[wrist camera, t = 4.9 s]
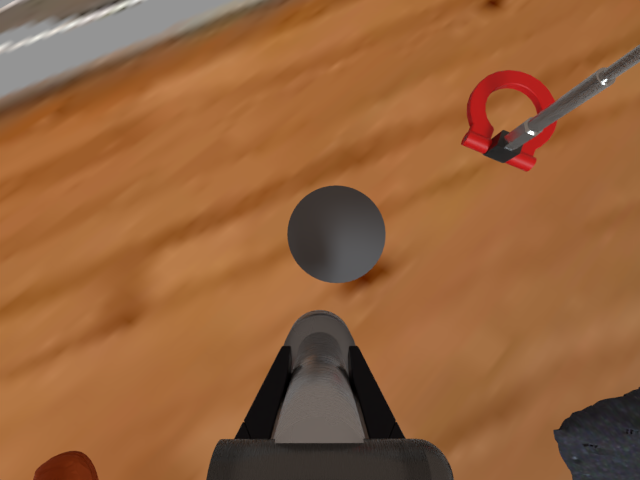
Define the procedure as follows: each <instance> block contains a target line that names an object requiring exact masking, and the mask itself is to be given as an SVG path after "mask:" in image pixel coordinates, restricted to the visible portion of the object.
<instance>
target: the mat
mask: <svg viewBox="0 0 640 480" xmlns="http://www.w3.org/2000/svg"><path fill="white" fill-rule="evenodd" d="M287 237H288V244H289V248H290V251H291V254H292V256H293V258H294V259H295V261H296V262H297V264H298V265H299V266H300V267H301V268H302V269H303V270H304V271H305V272H306V273H307V274H309V275H310V276H312V277H314V278H316V279H318V280H321V281H324V282H329V283H345V282H349V281H352V280H355V279H358V278H359V277H361V276H363V275H364V274H366V273H367V272H368V271H370V270H371V269H372V268H373V267H374V265H375V264H376V263H377V261H378V260H379V258H380V256H381V254H382V252H383V248H384V245H385V237H386V232H385V224H384V220H383V218H382V215H381V213H380V211H379V209H378V208H377V206H376V205H375V204H374V202H373V201H372V200H371V199H370V198H369V197H367V196H366V195H365V194H363V193H362V192H360V191H358V190H356V189H353V188H350V187H346V186H338V185H334V186H326V187H322V188H319V189H317V190H315V191H313V192H311V193H309V194H308V195H306V196H305V197H304V198H303V199H302V200H301V201H300V202H299V203H298V204H297V206H296V207H295V209H294V210H293V212H292V214H291V217H290V220H289V224H288V231H287Z"/></svg>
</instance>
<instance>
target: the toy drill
mask: <svg viewBox="0 0 640 480" xmlns="http://www.w3.org/2000/svg"><path fill="white" fill-rule="evenodd" d="M33 480H99V479H98V475H97V472H96V469H95V466H94V465H93V463H92V461H91V460H90V458H89V457H88V456H87V455H86V454H84V453H82V452H80V451H68V452H64V453H61V454H58V455H56V456H54V457H52V458H50V459H49V460H48V461H46V462H45V463H43V464H42V465H41V466H40V467H38V468H37V470H36V471H35V474H34V478H33Z"/></svg>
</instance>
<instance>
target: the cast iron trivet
mask: <svg viewBox="0 0 640 480" xmlns="http://www.w3.org/2000/svg"><path fill="white" fill-rule="evenodd" d="M553 433H554V438H555V440H556V442H557V443H558V448H559V453H560V455H561V457H562V459H563V461H564V462H565V464H566V465H567V467H568V469H569V470H570V472H571V474H572V480H640V387H639V388H638V389H636V390H632V391H630V392H629V393H626V394H624V395H623V396H620V397H615V398H608V399H603V400H600V401H598V402H596V403H595V404H594V405H590V406H588V407H586V408H584V409H583V410H581V411H576V412H573V413H572V414H571V415H570V417H569V418H566V419H565V420H564V421H563V422H562V424H561V426H560V428H559V429H556V430H553Z"/></svg>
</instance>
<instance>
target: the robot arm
mask: <svg viewBox="0 0 640 480" xmlns="http://www.w3.org/2000/svg"><path fill="white" fill-rule="evenodd" d="M291 373H292V350H291V346H282V347H281V348H280V350H279V352H278V354H277V356H276V358H275V360H274V362H273V364H272V366H271V368H270V370H269V372H268V374H267V376H266V378H265V380H264V382H263V384H262V386H261V388H260V389H259V391H258V393H257V395H256V397H255V399H254V401H253V403H252V405H251V407H250V409H249V411H248V413H247V415H246V417H245V419H244V422H243V423H242V424H241V426H240V428H239V430H238V432H237V434H236V436H235V438H234V439H273V438H274V435H275V431H276V427H277V424H278V420H279V417H280V413H281V409H282V406H283V402H284V399H285V395H286V392H287V388H288V384H289V381H290V377H291ZM348 376H349V381H350V384H351V388H352V392H353V395H354V399H355V403H356V407H357V410H358V414H359V418H360V421H361V425H362V429H363V432H364V436H365V439H406V438H405V436H404V434H403V433H402V431H401V429H400V427H399V425H398V423H397V422H396V419H395V417H394V415H393V413H392V411H391V409H390V407H389V406H388V404H387V402H386V400H385V398H384V396H383V394H382V392H381V390H380V388H379V386H378V384H377V382H376V380H375V378H374V376H373V374H372V372H371V370H370V368H369V366H368V364H367V363H366V361H365V359H364V357H363V355H362V353H361V351H360V349H359V347H358V346H349V349H348Z"/></svg>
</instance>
